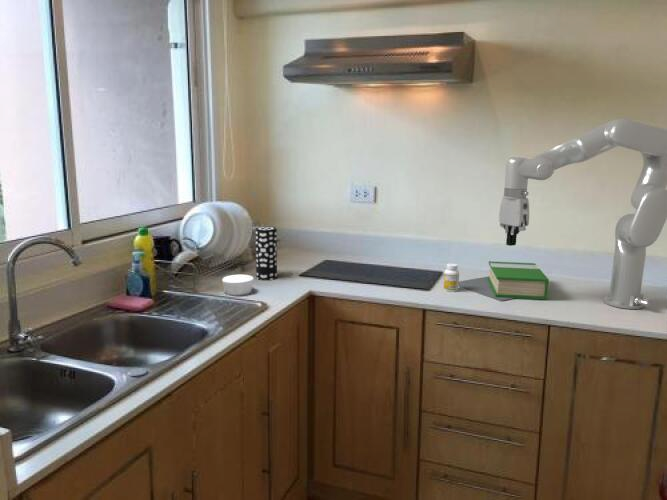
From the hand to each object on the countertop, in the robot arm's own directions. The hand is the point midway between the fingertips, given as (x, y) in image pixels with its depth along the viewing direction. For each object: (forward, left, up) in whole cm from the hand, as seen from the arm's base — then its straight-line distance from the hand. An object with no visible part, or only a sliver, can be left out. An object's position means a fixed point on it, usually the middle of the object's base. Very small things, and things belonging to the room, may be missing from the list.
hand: (510, 244), depth 201 cm
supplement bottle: (+16, +12, -19) cm, 28 cm away
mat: (+10, -6, -19) cm, 22 cm away
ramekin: (+51, +83, -20) cm, 100 cm away
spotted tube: (+64, +66, -19) cm, 94 cm away
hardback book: (-5, -2, -15) cm, 16 cm away
